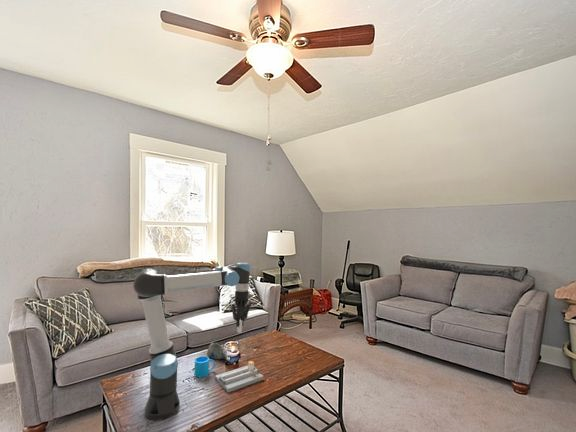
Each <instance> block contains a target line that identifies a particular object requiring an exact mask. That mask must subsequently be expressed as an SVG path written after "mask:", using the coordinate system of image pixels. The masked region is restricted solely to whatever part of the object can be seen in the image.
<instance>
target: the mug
mask: <svg viewBox="0 0 576 432" xmlns="http://www.w3.org/2000/svg"><path fill="white" fill-rule="evenodd" d="M210 362H212V363H213V365H212V366H211V368H210ZM215 367H216V361H215V360H214V359H213V358H210V357H207V355H206V356H205V355H204V356H203V355H202V356H198V357H196V358H195V359H194V372H193V373H194V375H193V376H194V377H196V378H204V377H207V376H208V375H209V372H211V371H212V370H214V368H215Z"/></svg>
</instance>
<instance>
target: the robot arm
mask: <svg viewBox="0 0 576 432" xmlns="http://www.w3.org/2000/svg"><path fill="white" fill-rule="evenodd" d="M250 273H251V265H250V263H248V262H237V263H236V266H223V265H221V266H216V267H215V269H214V271H205V272H196V273H185V274H183V273H182V274H175V275H167V274H166V273H161V274H160V272H159V271H157V269H154V268H145V269H141V270H140V271H139V272H138V273H137V274H136V276H135V278H134V281H133V283H132V284H133V290H134V292H135V294H136V295H137V300H139V301H140V302H141V303H142V307H143V311H144V312H143V313H144V317H145V321H146V326H147V327H146V328H147V332H148V337H149V342H150V348H149V349H148V354H149V355H148V356H149V361H150V368H149V369H150V370H149V371H150V372H149V373H150V377H149V378H150V379H149V396H148V398H147V401H146V404H145V407H144V416H145V418H147V419H148V420H151V421H161V420H162V421H163V420H165V419H168V418H171V417H172V416H174V415H175V414H176V413H178V411H179V410H180V408H181V407H180V405H181V404H180V403H181V402H180V397H179V393H178V391H177V388H178V387H177V385H178V384H177V382H178V381H177V380H178V367H179V366H178V365H179V363H178V358H177V354H176V353H177V352H176V350H175V347H174V343H173V341H171V340H170V338H169V333H168V332H169V331H168V327H167V324H166V323H167V322H166V318H165V313H164V312H165V311H164V307H163V302H162V296H164V295H167V294H168V293H170V292H171V293H172V292H179V291H189V290H196V289H206V288H212V287H221V286H228V287H234V286H235V291H234V301H232V302H230V307H231V311H232V318H233V320H234V321H236V322H235V323H236V324H235V325H236V332H237V333H238V334H240V333H242V331H243V327H244V321H245V320H247V319H248V315H249V311H250V306H251V304H252V303H253V302H252V301H251V300H249V292H250V291H249V287H250V276H251V275H250Z"/></svg>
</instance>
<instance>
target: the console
mask: <svg viewBox="0 0 576 432" xmlns="http://www.w3.org/2000/svg"><path fill="white" fill-rule="evenodd" d="M214 380H215V381H216V382H217V383H218V384H219V385H220V386H221V387H222V388H223V389H224V390H225V392H226V393H231V392H233V391H237V390H238V389H242V388H245V387H247V386H249V385H253V384H255V383H259V382H261V381H263V380H264V375H263V374H261V373H260V370H259V369H258V368H257V367H256V366H254V370H253V371H250V372H248V364H247V365H244V366H241V367H239V368H236V369H234V368H233V369H232V370H228V371H225V372H221V373H219V374H216V375H215V378H214Z"/></svg>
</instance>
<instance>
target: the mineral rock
mask: <svg viewBox="0 0 576 432" xmlns="http://www.w3.org/2000/svg"><path fill="white" fill-rule="evenodd" d="M225 353H226V351H225V350H224V349H223V348H222V346H221V345H220V344H219V343H218V342H210V344H209V345H208V348H207V353H206V357H208V358H209V359H215V360H221V359H226V358H225Z"/></svg>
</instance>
